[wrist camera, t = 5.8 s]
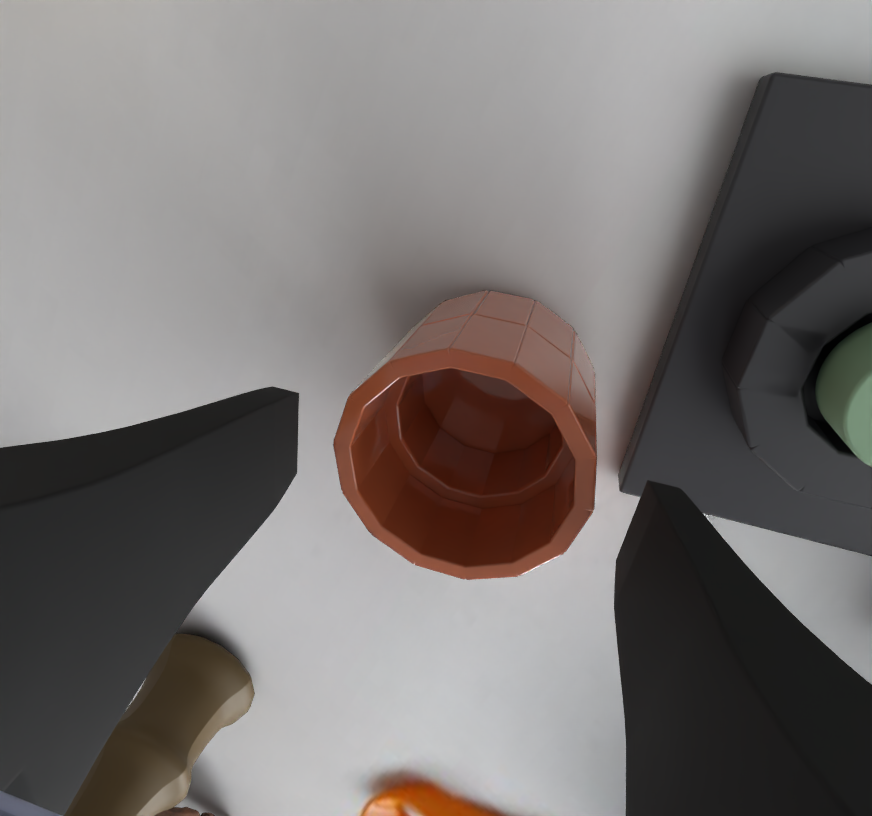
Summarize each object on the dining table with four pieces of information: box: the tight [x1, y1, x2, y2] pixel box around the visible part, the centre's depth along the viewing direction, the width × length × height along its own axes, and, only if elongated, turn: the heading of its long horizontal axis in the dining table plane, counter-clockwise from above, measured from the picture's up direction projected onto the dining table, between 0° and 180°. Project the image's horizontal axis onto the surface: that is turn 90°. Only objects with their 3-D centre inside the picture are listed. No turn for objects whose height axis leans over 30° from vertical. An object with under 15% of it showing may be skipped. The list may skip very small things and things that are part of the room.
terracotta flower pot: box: [333, 290, 597, 580], centre depth 13 cm, size 5×6×5 cm
